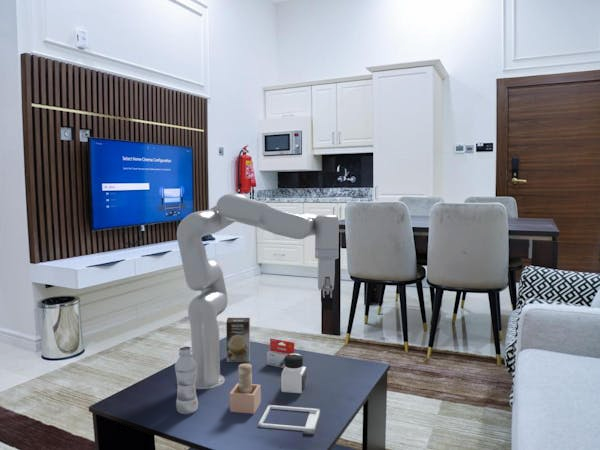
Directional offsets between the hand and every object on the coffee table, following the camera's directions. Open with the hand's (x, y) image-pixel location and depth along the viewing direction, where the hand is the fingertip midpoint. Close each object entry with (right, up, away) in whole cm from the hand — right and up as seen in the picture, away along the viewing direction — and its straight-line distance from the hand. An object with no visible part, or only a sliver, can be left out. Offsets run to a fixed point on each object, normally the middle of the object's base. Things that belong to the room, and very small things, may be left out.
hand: (326, 305), depth 156 cm
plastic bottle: (-43, -31, -9) cm, 54 cm away
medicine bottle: (-11, -30, +6) cm, 32 cm away
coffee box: (-33, -27, +35) cm, 55 cm away
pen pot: (-25, -31, -7) cm, 40 cm away
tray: (-11, -31, -15) cm, 36 cm away
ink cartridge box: (-16, -28, +28) cm, 42 cm away
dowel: (-25, -30, -7) cm, 40 cm away
